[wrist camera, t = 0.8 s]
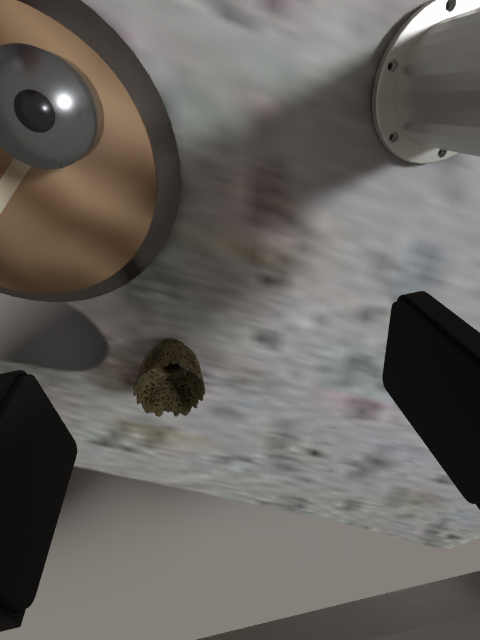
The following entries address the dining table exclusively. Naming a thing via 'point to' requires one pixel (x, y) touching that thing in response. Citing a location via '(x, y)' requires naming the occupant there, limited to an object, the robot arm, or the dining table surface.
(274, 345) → the dining table surface
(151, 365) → the cup
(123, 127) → the platter
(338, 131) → the dining table surface
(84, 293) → the turntable base
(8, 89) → the cover
